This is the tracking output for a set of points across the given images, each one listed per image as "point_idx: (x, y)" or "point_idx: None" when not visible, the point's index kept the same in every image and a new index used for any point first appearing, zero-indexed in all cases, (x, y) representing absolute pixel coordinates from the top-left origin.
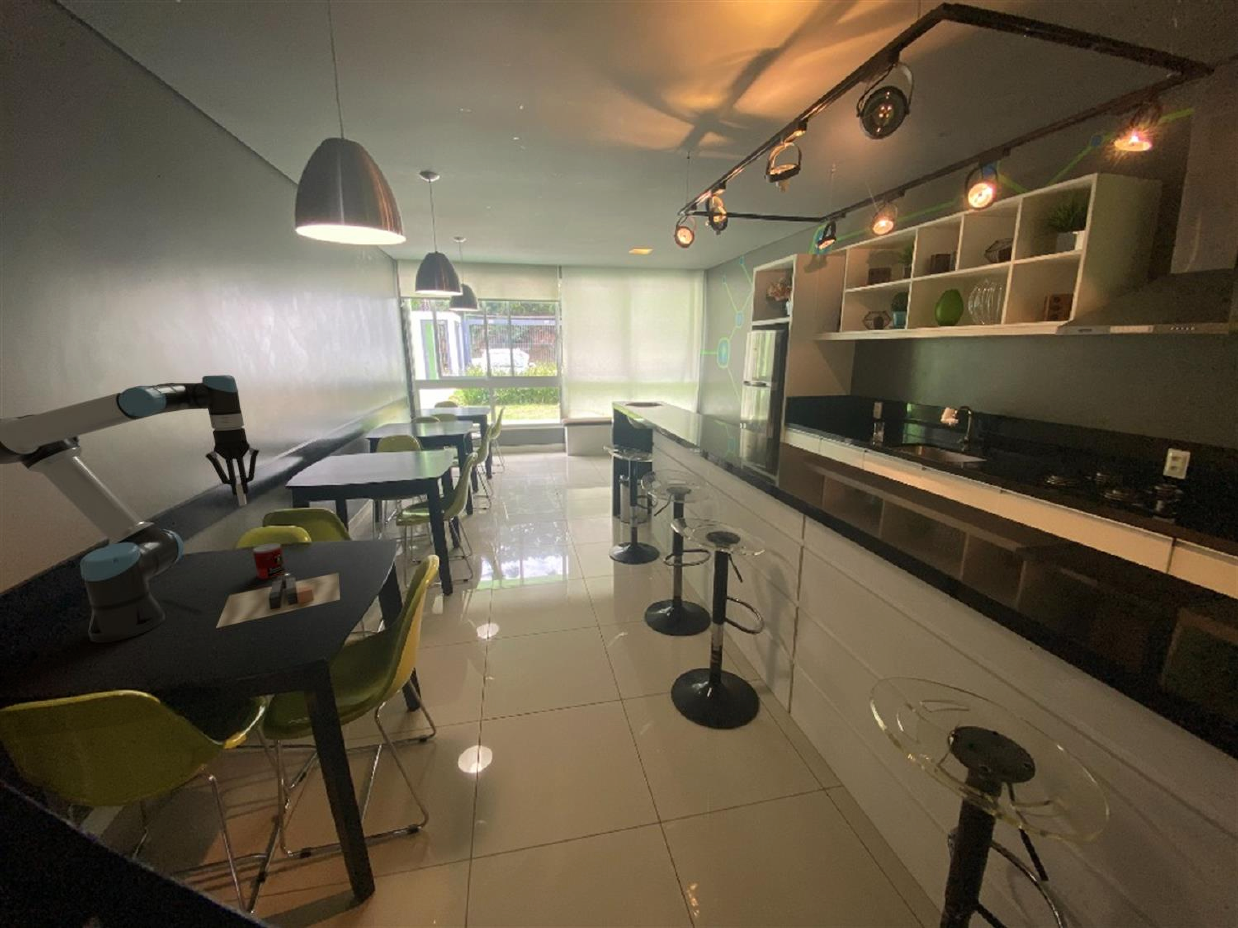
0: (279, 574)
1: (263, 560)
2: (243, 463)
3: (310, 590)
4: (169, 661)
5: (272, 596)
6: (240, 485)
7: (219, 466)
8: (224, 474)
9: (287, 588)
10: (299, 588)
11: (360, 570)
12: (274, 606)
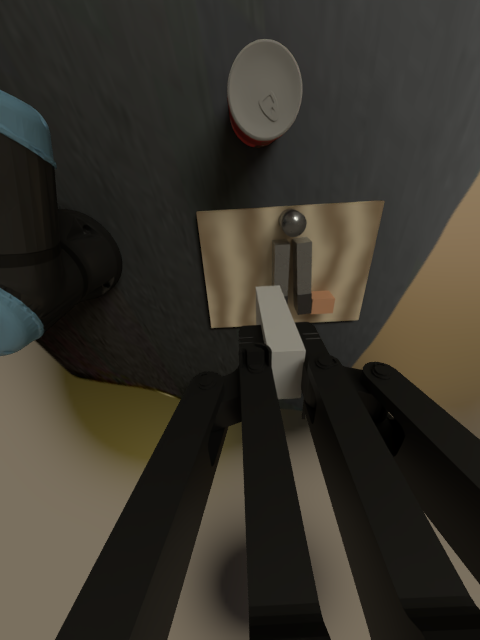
0: (286, 218)
1: (253, 141)
2: (432, 567)
3: (329, 312)
4: (183, 366)
5: None
6: (293, 394)
7: (174, 602)
8: (208, 464)
9: (298, 290)
10: (315, 300)
11: (423, 191)
12: None
